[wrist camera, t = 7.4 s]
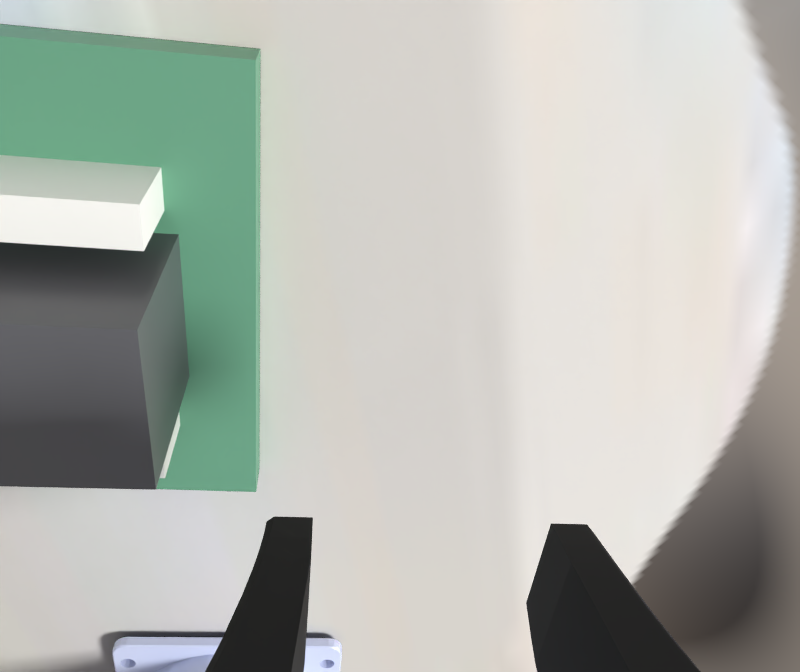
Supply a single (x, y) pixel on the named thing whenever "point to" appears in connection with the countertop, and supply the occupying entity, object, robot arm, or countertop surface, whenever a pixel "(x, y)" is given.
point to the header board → (151, 202)
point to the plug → (90, 363)
